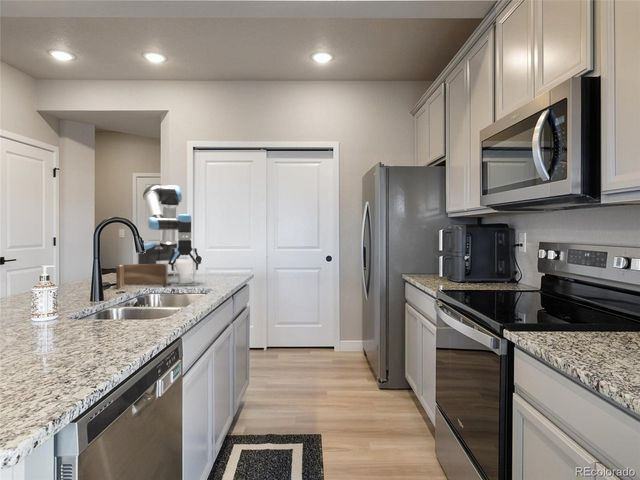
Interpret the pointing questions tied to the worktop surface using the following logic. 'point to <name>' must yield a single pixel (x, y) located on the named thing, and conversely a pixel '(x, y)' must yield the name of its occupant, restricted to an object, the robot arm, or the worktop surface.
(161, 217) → the robot arm
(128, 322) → the worktop surface
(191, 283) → the mat
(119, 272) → the crate
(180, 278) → the cup
